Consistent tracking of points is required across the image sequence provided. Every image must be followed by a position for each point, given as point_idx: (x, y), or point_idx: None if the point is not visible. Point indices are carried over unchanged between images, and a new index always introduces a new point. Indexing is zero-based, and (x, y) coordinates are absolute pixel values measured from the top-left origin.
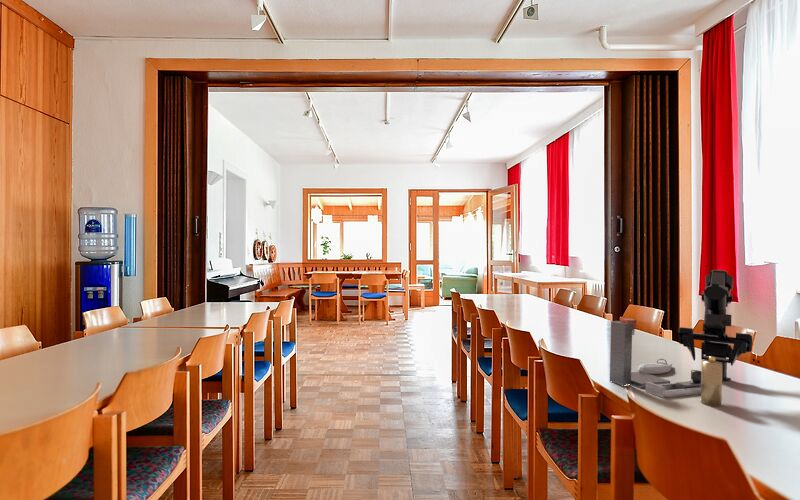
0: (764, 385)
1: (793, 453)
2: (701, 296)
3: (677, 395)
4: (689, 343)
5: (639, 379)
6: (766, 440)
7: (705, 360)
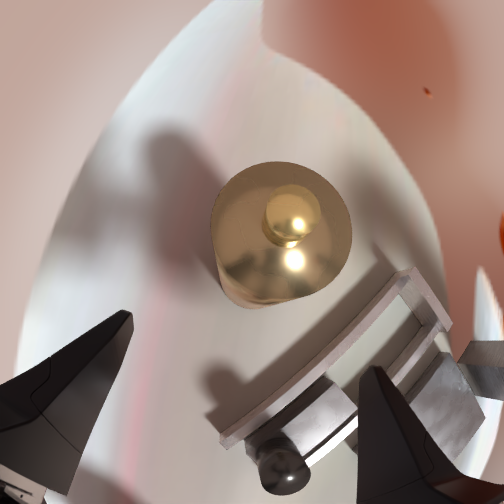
0: None
1: (182, 29)
2: None
3: (354, 319)
4: (447, 463)
5: (444, 407)
6: (200, 52)
7: (324, 265)
